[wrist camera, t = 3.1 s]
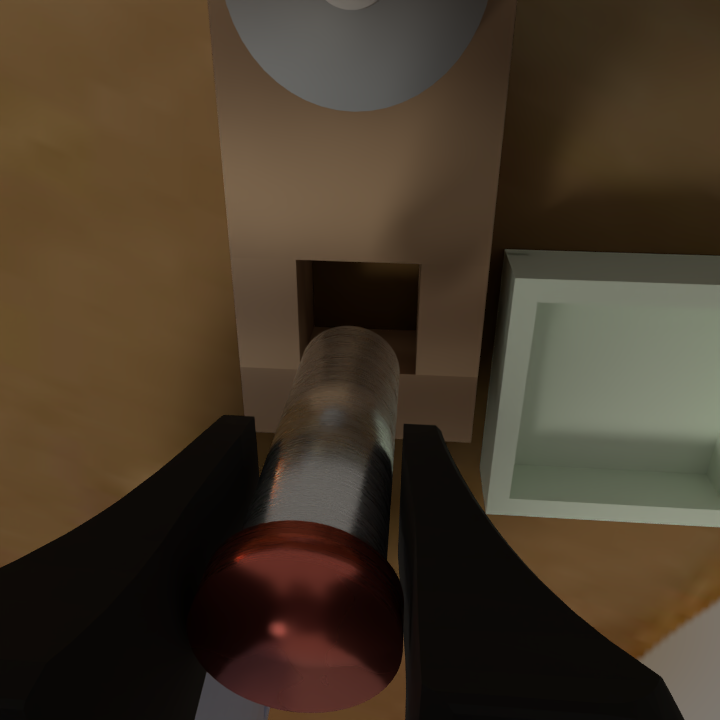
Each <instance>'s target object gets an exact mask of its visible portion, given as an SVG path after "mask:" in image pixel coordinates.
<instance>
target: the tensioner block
mask: <svg viewBox="0 0 720 720" xmlns="http://www.w3.org/2000/svg"><path fill="white" fill-rule="evenodd" d="M516 7H517V0H208V11H209V22H210V34H211V45H212V56H213V67H214V78H215V90H216V101H217V112H218V123H219V135H220V146H221V157H222V168H223V180H224V191H225V202H226V213H227V224H228V236H229V247H230V258H231V269H232V281H233V292H234V303H235V314H236V325H237V337H238V348H239V359H240V370H241V382H242V393H243V404H244V415H245V416H254V417H255V430H256V432H267V433H276V430H277V427H278V424H279V421H280V418H281V416H282V413H283V410H284V407H285V404H286V401H287V399H288V396H289V393H290V390H291V387H292V384H293V381H294V379H295V376H296V373H297V370H298V367H299V364H300V362H301V359H302V356H303V353H304V351H305V349H306V347H307V345H308V344H309V343H310V341H311V340H312V339H313V338H314V337H316V336H317V335H318V334H320V333H322V332H323V331H325V330H328V329H330V328H334V327H314V300H313V264H312V260H316V261H347V262H377V263H408V264H419V280H418V299H417V319H416V331H412V330H387V329H368V330H370V331H372V332H374V333H376V334H378V335H379V336H381V337H382V338H383V339H384V340H385V341H386V342H387V343H388V344H389V345H390V346H391V347H392V349H393V350H394V352H395V354H396V356H397V359H398V363H399V371H400V374H399V389H398V404H397V418H396V433H395V439H403V426H404V424H422V425H436V426H437V427H438V428H439V429H440V430H441V432H442V435H443V438H444V440H445V441H447V442H467V443H471V438H472V428H473V419H474V409H475V400H476V390H477V380H478V371H479V361H480V352H481V342H482V332H483V323H484V313H485V304H486V294H487V285H488V275H489V265H490V256H491V246H492V237H493V227H494V218H495V208H496V198H497V189H498V179H499V170H500V160H501V151H502V141H503V131H504V122H505V112H506V103H507V93H508V83H509V74H510V64H511V55H512V45H513V36H514V26H515V16H516Z"/></svg>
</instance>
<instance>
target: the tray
mask: <svg viewBox="0 0 720 720" xmlns="http://www.w3.org/2000/svg"><path fill="white" fill-rule="evenodd" d="M480 475H481V482H482V490H483V497H484V505H485V512H486V514H496V515H514V516H531V517H549V518H567V519H584V520H602V521H619V522H637V523H655V524H672V525H690V526H707V527H720V256H710V255H677V254H645V253H613V252H581V251H549V250H517V249H505V251H504V259H503V268H502V277H501V286H500V294H499V303H498V312H497V320H496V329H495V338H494V347H493V355H492V364H491V373H490V382H489V390H488V399H487V408H486V417H485V425H484V434H483V443H482V452H481V460H480Z"/></svg>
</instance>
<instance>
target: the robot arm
mask: <svg viewBox="0 0 720 720" xmlns="http://www.w3.org/2000/svg"><path fill="white" fill-rule="evenodd" d="M258 481H259V467H258V455H257V442H256V430H255V417H254V416H234V415H223V416H222V417H221V418H219V419H218V420H217V421H216V422H215V423H213V424H212V425H211V426H210V427H209V428H208V429H207V430H205V431H204V432H203V433H202V434H201V435H200V436H198V437H197V438H196V439H195V440H194V441H193V442H192V443H190V444H189V445H188V446H187V447H186V448H185V449H184V450H182V451H181V452H180V453H179V454H178V455H177V456H175V457H174V458H173V459H172V460H171V461H169V462H168V463H167V464H166V465H165V466H163V467H162V468H161V469H160V470H159V471H157V472H156V473H155V474H153V475H152V476H151V477H149V478H148V479H147V480H145V481H144V482H143V483H141V484H140V485H139V486H137V487H136V488H135V489H133V490H132V491H131V492H130V493H128V494H127V495H126V496H124V497H123V498H122V499H120V500H119V501H117V502H116V503H114V504H113V505H112V506H110V507H109V508H107V509H105V510H104V511H102V512H101V513H99V514H98V515H96V516H95V517H93V518H91V519H90V520H88V521H87V522H85V523H83V524H82V525H80V526H79V527H77V528H75V529H74V530H72V531H70V532H68V533H67V534H65V535H63V536H61V537H59V538H58V539H56V540H54V541H52V542H50V543H48V544H46V545H44V546H42V547H40V548H39V549H37V550H35V551H33V552H31V553H29V554H27V555H25V556H23V557H22V558H20V559H18V560H16V561H14V562H12V563H10V564H7V565H5V566H3V567H1V568H0V720H267V719H268V714H269V709H270V707H267V706H264V705H261V704H258V703H255V702H253V701H250V700H248V699H245V698H243V697H241V696H239V695H237V694H235V693H234V692H232V691H231V690H229V689H227V688H226V687H224V686H223V685H222V684H220V683H219V682H218V681H216V680H215V679H214V678H213V677H212V676H211V675H210V674H209V673H208V672H207V671H206V670H205V669H204V668H203V666H202V665H201V664H200V663H199V661H198V660H197V658H196V656H195V655H194V653H193V651H192V648H191V646H190V643H189V639H188V635H187V619H188V614H189V611H190V608H191V605H192V602H193V600H194V597H195V595H196V592H197V590H198V587H199V585H200V582H201V579H202V577H203V574H204V572H205V569H206V567H207V564H208V562H209V560H210V558H211V556H212V555H213V553H214V552H215V551H216V550H217V548H218V547H219V546H220V545H221V544H222V543H223V542H225V541H226V540H227V539H228V538H230V537H231V536H233V535H234V534H236V533H238V532H240V531H241V530H242V527H243V524H244V521H245V518H246V515H247V512H248V510H249V507H250V504H251V501H252V498H253V495H254V493H255V490H256V487H257V484H258ZM398 561H399V576H400V583H401V586H402V590H403V594H404V627H403V633H404V647H405V663H406V715H405V720H684V718H683V716H682V714H681V712H680V710H679V708H678V706H677V705H676V703H675V701H674V699H673V697H672V695H671V693H670V691H669V690H668V688H667V686H666V684H665V682H664V681H663V679H662V678H661V676H659V675H658V674H656V673H655V672H654V671H652V670H651V669H649V668H648V667H646V666H645V665H644V664H642V663H641V662H639V661H638V660H637V659H635V658H634V657H632V656H631V655H629V654H628V653H627V652H625V651H624V650H622V649H621V648H619V647H618V646H617V645H615V644H614V643H612V642H611V641H609V640H608V639H607V638H606V637H604V636H603V635H602V634H600V633H599V632H598V631H597V630H596V629H594V628H593V627H592V626H591V625H589V624H588V623H587V622H586V621H584V620H583V619H582V618H581V617H580V616H578V615H577V614H576V613H575V612H574V611H572V610H571V609H570V608H569V607H568V606H567V605H566V604H565V603H564V602H563V601H562V600H561V599H560V598H559V597H557V596H556V595H555V594H554V593H553V592H552V591H551V590H550V589H549V588H548V587H547V586H546V585H545V584H544V583H543V582H542V581H541V580H540V579H539V578H538V577H537V576H536V575H535V574H534V573H533V572H532V571H531V570H530V569H529V568H528V566H527V565H526V564H525V563H524V562H523V561H522V560H521V559H520V558H519V556H518V555H517V554H516V553H515V552H514V551H513V549H512V548H511V547H510V546H509V545H508V543H507V542H506V541H505V540H504V538H503V537H502V536H501V534H500V533H499V532H498V530H497V529H496V528H495V527H494V525H493V524H492V522H491V521H490V519H489V518H488V517H487V515H486V514H485V512H484V511H483V510H482V508H481V506H480V505H479V503H478V502H477V500H476V499H475V497H474V496H473V494H472V492H471V491H470V489H469V487H468V486H467V484H466V482H465V481H464V479H463V477H462V475H461V474H460V472H459V470H458V468H457V466H456V464H455V462H454V460H453V458H452V456H451V454H450V452H449V450H448V448H447V445H446V443H445V440H444V438H443V435H442V432H441V430H440V429H439V428H438V427H437V426H436V425H422V424H404V426H403V448H402V470H401V492H400V516H399V543H398Z"/></svg>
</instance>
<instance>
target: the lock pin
mask: <svg viewBox="0 0 720 720" xmlns="http://www.w3.org/2000/svg"><path fill="white" fill-rule="evenodd" d="M399 374H400V371H399V363H398V359H397V356H396V354H395V352H394V350H393V349H392V347H391V346H390V345H389V344H388V343H387V342H386V341H385V340H384V339H383V338H382V337H381V336H379V335H378V334H376V333H374V332H372V331H370V330H368V329H365V328H361V327H357V326H339V327H334V328H330V329H328V330H325V331H323V332H322V333H320V334H318V335H317V336H316V337H314V338H313V339H312V340H311V341H310V343H309V344H308V345H307V347H306V349H305V351H304V353H303V356H302V359H301V362H300V364H299V367H298V370H297V373H296V376H295V379H294V381H293V384H292V387H291V390H290V393H289V396H288V399H287V401H286V404H285V407H284V410H283V413H282V416H281V418H280V421H279V424H278V427H277V430H276V433H275V436H274V438H273V441H272V444H271V447H270V450H269V453H268V455H267V458H266V461H265V464H264V467H263V470H262V473H261V475H260V478H259V481H258V484H257V487H256V490H255V493H254V495H253V498H252V501H251V504H250V507H249V510H248V512H247V515H246V518H245V521H244V524H243V527H242V530H241V531H240V532H238V533H236V534H234V535H233V536H231V537H230V538H228V539H227V540H226V541H225V542H223V543H222V544H221V545H220V546H219V547H218V548H217V550H216V551H215V552H214V553H213V555H212V556H211V558H210V560H209V562H208V564H207V567H206V569H205V572H204V574H203V577H202V579H201V582H200V585H199V587H198V590H197V592H196V595H195V597H194V600H193V602H192V605H191V608H190V611H189V614H188V619H187V635H188V639H189V643H190V646H191V648H192V651H193V653H194V655H195V656H196V658H197V660H198V661H199V663H200V664H201V665H202V666H203V668H204V669H205V670H206V671H207V672H208V673H209V674H210V675H211V676H212V677H213V678H214V679H215V680H216V681H218V682H219V683H220V684H222V685H223V686H224V687H226V688H227V689H229V690H231V691H232V692H234V693H235V694H237V695H239V696H241V697H243V698H245V699H248V700H250V701H253V702H255V703H258V704H261V705H264V706H267V707H271V708H275V709H280V710H284V711H292V712H303V713H320V712H330V711H337V710H341V709H346V708H349V707H352V706H355V705H358V704H361V703H363V702H365V701H367V700H369V699H371V698H372V697H374V696H375V695H377V694H379V693H380V692H381V691H382V690H383V689H384V688H386V687H387V685H388V684H389V683H390V682H391V681H392V680H393V678H394V676H395V675H396V673H397V671H398V669H399V666H400V664H401V660H402V653H403V627H404V594H403V590H402V586H401V583H400V581H399V578H398V576H397V574H396V573H395V571H394V569H393V568H392V566H391V565H390V564H389V563H388V561H387V550H388V536H389V521H390V506H391V492H392V477H393V462H394V448H395V433H396V418H397V404H398V389H399Z"/></svg>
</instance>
